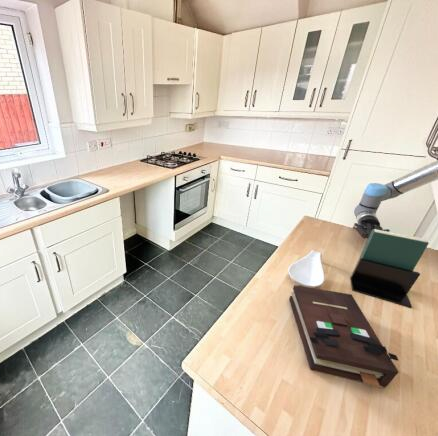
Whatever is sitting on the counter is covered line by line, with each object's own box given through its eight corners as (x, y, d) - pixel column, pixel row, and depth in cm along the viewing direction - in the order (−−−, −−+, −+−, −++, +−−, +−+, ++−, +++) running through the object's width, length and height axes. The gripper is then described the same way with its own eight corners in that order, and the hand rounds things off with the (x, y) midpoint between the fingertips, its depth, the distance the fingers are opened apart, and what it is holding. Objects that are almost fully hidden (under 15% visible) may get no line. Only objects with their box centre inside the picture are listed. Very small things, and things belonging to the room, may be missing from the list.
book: (425, 238, 82) (429, 242, 80) (398, 286, 90) (401, 291, 88) (372, 228, 89) (374, 231, 86) (352, 273, 97) (353, 277, 94)
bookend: (404, 293, 87) (419, 272, 82) (411, 308, 82) (426, 286, 77) (349, 278, 95) (360, 257, 90) (352, 290, 89) (363, 269, 84)
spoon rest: (317, 297, 86) (323, 282, 83) (282, 282, 93) (286, 268, 90) (329, 265, 102) (335, 251, 98) (298, 254, 109) (302, 240, 105)
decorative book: (353, 288, 80) (413, 382, 55) (345, 304, 84) (397, 399, 58) (289, 278, 85) (317, 360, 59) (283, 293, 88) (307, 377, 63)
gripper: (382, 231, 116) (394, 258, 98) (348, 225, 122) (354, 249, 104) (389, 218, 112) (403, 243, 94) (354, 212, 118) (361, 234, 100)
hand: (377, 246), depth 99 cm, fingers closed
